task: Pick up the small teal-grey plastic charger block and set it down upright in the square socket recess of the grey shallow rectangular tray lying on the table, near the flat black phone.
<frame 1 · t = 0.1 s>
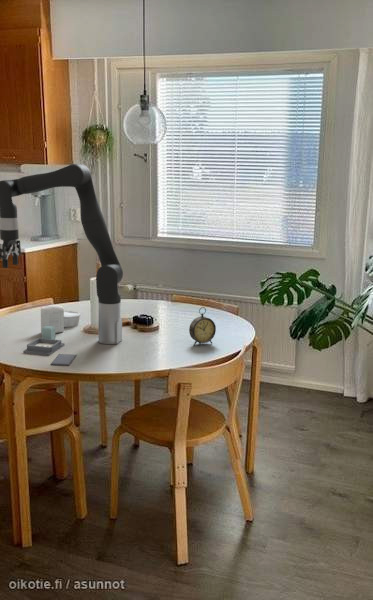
hand: (10, 266, 252), 29 cm above the table, tool pointing down, fingers open, 8 cm apart
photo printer: (52, 332, 259), on the table
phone: (63, 361, 225), on the table
alarm clock: (201, 344, 250), on the table
grey shallow rectangular tray: (44, 348, 237), on the table
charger: (48, 341, 247), on the table
ramekin: (68, 325, 272), on the table
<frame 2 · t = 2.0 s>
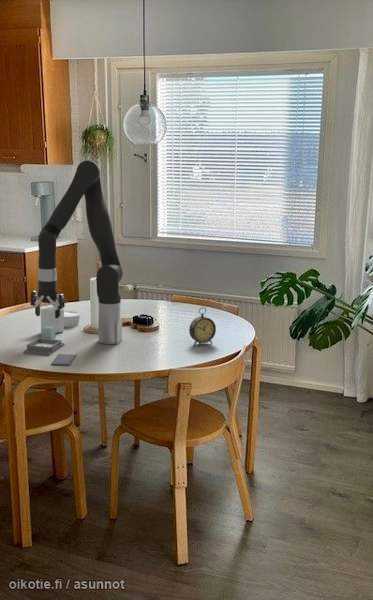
hand: (47, 316, 245), 10 cm above the table, tool pointing down, fingers open, 8 cm apart
nothing on the table moved.
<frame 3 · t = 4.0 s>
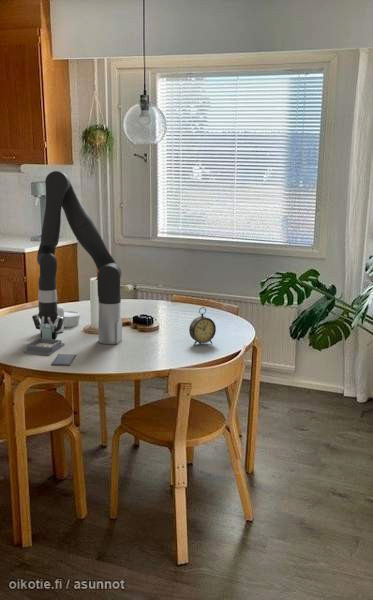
hand: (48, 339, 247), 1 cm above the table, tool pointing down, fingers closed on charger, 4 cm apart
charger: (48, 341, 247), on the table, touching gripper
everything else where it was.
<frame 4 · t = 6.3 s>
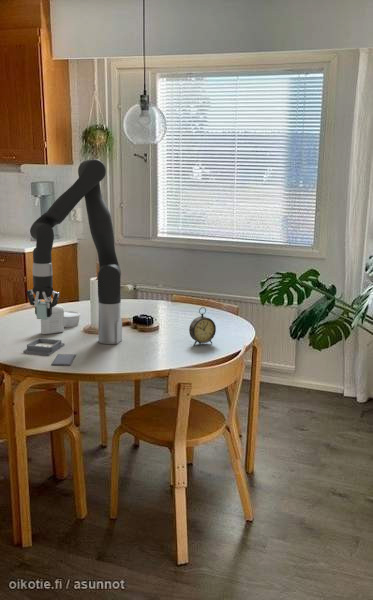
hand: (43, 316, 234), 14 cm above the table, tool pointing down, fingers closed on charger, 4 cm apart
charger: (43, 318, 234), point 13 cm above the table, touching gripper
everything else where it was.
when the fingers open (3 cm above the table, at t = 8.9 s): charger stays where it is, resting on grey shallow rectangular tray.
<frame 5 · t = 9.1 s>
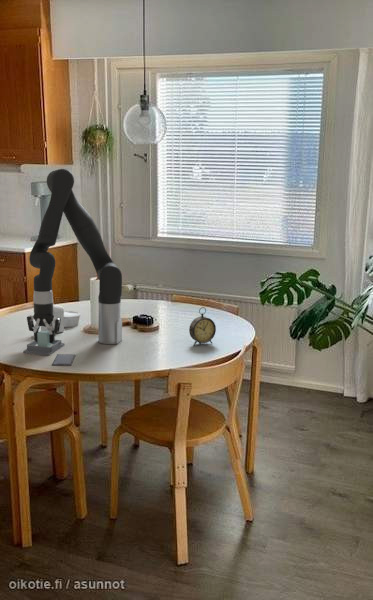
hand: (44, 341, 236), 3 cm above the table, tool pointing down, fingers open, 5 cm apart
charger: (44, 346, 236), point 1 cm above the table, touching grey shallow rectangular tray
everything else where it was.
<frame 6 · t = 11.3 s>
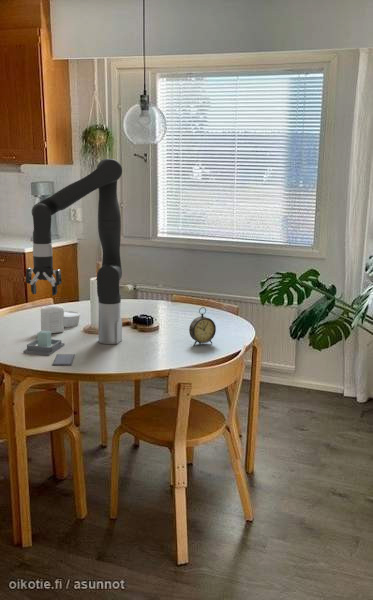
hand: (44, 294, 236), 21 cm above the table, tool pointing down, fingers open, 8 cm apart
nothing on the table moved.
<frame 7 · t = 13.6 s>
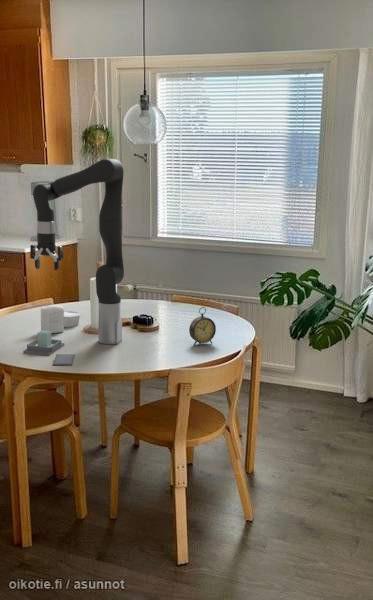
hand: (46, 269, 253), 28 cm above the table, tool pointing down, fingers open, 8 cm apart
nothing on the table moved.
at the end: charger inside the target area on the grey shallow rectangular tray (0.1 cm from its centre), point 1.0 cm above the grey shallow rectangular tray's base; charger tilted 0°; the gripper is holding nothing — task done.
